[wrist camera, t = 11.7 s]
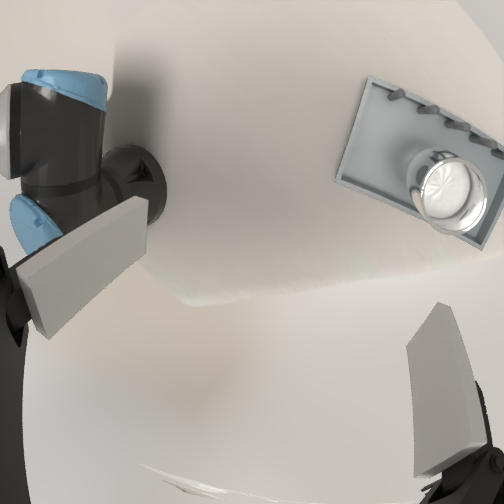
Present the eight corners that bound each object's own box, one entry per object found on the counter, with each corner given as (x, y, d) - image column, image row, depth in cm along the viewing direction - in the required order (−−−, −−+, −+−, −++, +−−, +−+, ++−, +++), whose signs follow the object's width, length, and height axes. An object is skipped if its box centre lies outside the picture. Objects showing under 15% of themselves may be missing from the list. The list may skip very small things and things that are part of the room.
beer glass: (450, 154, 29) (501, 180, 16) (430, 200, 33) (467, 250, 20) (404, 129, 30) (437, 140, 17) (385, 178, 34) (404, 217, 21)
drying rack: (335, 176, 37) (332, 191, 30) (367, 79, 30) (371, 70, 23) (473, 240, 33) (493, 266, 26) (510, 155, 26) (538, 167, 19)
